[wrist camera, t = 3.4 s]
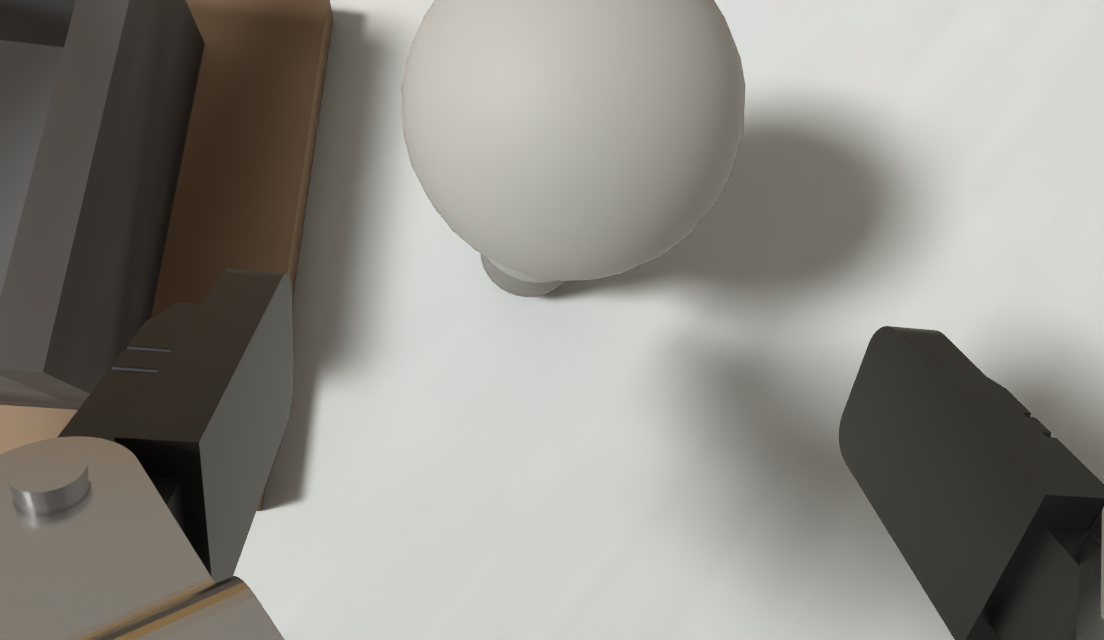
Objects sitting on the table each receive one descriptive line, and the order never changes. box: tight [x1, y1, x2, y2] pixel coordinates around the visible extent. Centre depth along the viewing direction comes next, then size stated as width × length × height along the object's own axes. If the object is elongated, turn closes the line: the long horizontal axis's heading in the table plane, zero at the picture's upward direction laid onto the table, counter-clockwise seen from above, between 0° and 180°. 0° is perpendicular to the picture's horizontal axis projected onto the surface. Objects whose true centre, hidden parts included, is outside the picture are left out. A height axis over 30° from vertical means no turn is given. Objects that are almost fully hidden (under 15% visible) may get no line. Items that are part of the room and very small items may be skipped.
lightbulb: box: [402, 0, 745, 297], centre depth 17 cm, size 6×6×11 cm
